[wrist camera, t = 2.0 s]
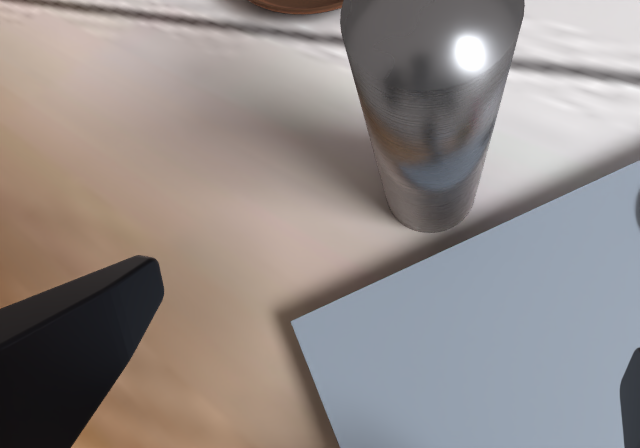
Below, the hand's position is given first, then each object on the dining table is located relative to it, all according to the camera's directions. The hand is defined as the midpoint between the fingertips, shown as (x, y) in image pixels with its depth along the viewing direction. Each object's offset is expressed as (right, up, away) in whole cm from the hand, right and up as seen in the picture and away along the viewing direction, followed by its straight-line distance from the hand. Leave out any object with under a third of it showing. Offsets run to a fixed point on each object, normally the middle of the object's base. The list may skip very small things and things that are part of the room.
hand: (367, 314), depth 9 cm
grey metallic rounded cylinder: (+4, +3, +13) cm, 15 cm away
